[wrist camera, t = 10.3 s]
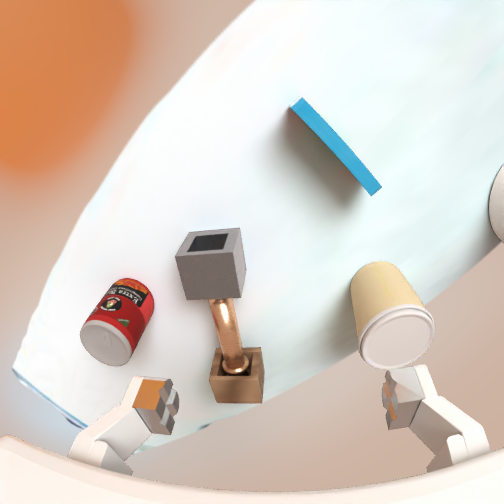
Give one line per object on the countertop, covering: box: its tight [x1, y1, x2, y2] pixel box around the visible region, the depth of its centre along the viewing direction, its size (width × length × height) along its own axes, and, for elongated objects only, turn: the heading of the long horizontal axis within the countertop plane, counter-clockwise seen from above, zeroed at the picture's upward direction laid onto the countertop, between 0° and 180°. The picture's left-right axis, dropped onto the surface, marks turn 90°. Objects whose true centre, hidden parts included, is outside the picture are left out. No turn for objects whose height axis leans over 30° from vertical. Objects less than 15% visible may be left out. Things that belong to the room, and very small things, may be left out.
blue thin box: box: [289, 97, 382, 196], centre depth 31 cm, size 12×2×6 cm, turn 46°
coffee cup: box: [350, 261, 435, 370], centre depth 37 cm, size 9×9×12 cm
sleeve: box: [175, 228, 246, 300], centre depth 39 cm, size 7×6×6 cm
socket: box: [209, 347, 264, 403], centre depth 48 cm, size 7×6×7 cm
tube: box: [209, 298, 249, 376], centre depth 45 cm, size 4×16×4 cm, turn 7°
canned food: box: [80, 278, 154, 366], centre depth 42 cm, size 8×8×11 cm
